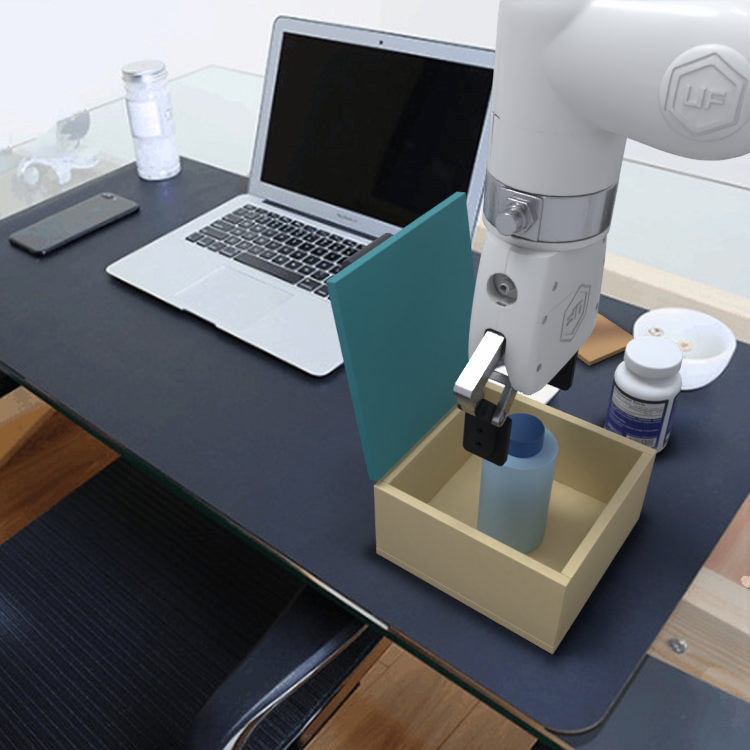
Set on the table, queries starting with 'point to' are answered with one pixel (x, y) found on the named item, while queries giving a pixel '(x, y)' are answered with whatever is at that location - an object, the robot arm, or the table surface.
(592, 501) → the tan wooden box
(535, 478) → the water bottle
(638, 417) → the pill bottle
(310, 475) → the table surface
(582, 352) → the coaster mat
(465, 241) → the teal box lid
